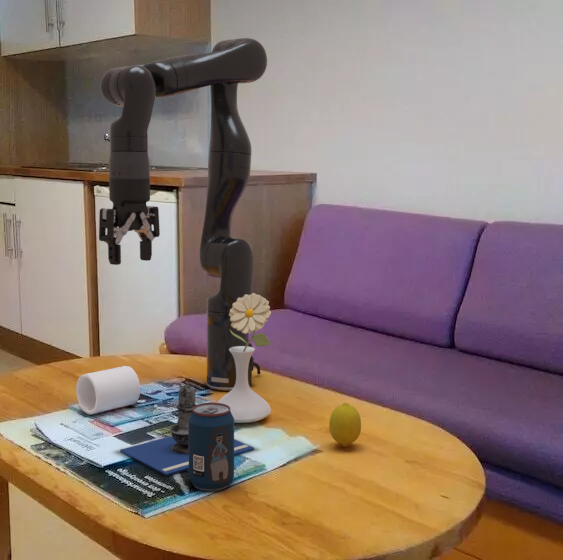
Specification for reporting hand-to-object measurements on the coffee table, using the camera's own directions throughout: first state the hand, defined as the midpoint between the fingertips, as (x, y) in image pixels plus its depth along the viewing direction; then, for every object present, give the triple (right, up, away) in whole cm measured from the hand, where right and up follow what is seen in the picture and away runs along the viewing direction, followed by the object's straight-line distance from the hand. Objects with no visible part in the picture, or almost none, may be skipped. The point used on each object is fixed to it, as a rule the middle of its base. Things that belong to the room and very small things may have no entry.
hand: (130, 262), depth 147 cm
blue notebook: (+13, -33, -14) cm, 38 cm away
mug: (-7, -29, +9) cm, 31 cm away
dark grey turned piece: (+13, -32, -14) cm, 38 cm away
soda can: (+18, -35, -28) cm, 48 cm away
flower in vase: (+22, -31, +2) cm, 37 cm away
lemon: (+40, -33, -12) cm, 53 cm away
